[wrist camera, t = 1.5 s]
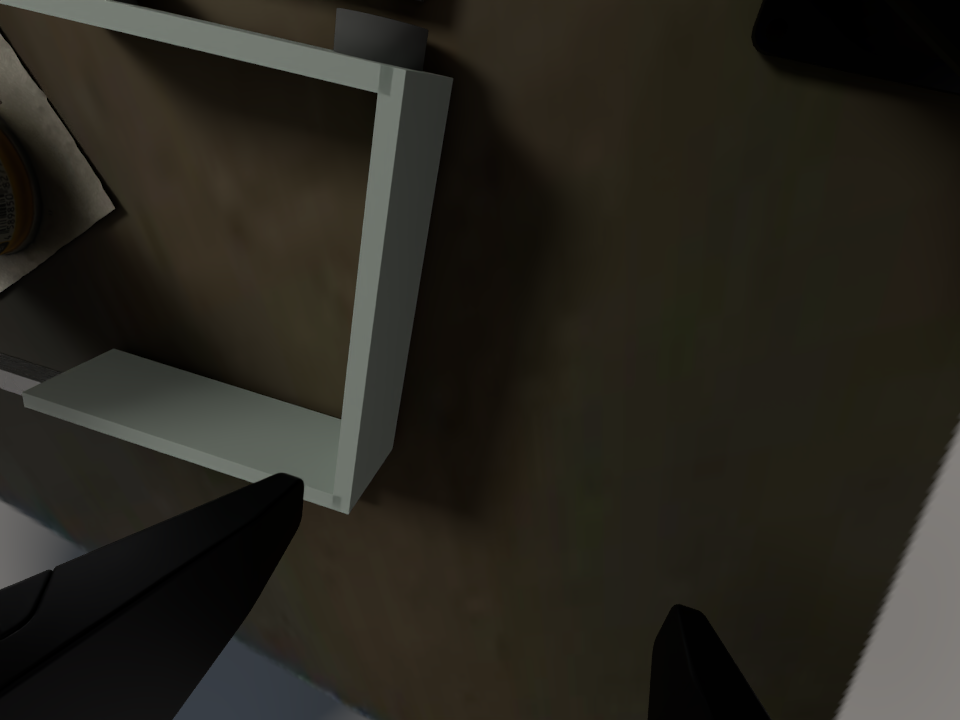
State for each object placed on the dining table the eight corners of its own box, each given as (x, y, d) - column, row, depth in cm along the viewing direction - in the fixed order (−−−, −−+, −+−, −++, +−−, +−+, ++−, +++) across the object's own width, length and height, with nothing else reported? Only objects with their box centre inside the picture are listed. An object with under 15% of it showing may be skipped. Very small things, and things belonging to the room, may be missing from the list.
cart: (459, 38, 16) (413, 19, 12) (389, 468, 23) (345, 537, 19) (76, -47, 17) (-67, -87, 14) (116, 382, 24) (28, 430, 20)
